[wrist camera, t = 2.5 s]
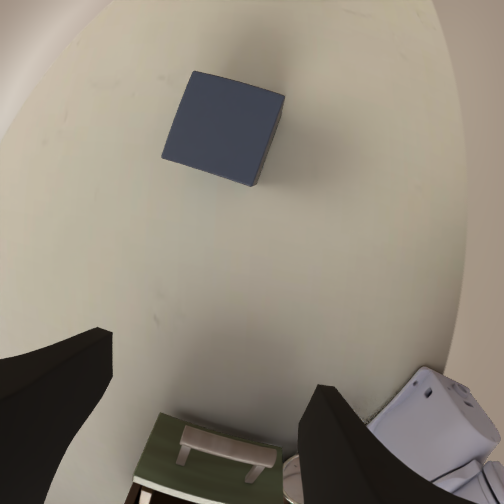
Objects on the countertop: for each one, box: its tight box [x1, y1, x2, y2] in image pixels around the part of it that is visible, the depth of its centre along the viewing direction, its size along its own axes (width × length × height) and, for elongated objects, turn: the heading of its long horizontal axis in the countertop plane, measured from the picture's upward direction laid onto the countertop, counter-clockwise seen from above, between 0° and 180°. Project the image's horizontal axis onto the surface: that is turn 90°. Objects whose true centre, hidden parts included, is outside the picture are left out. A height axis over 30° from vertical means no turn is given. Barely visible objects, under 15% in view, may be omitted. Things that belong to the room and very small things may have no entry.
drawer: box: [133, 412, 283, 504], centre depth 19 cm, size 17×10×7 cm, turn 161°
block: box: [161, 71, 285, 187], centre depth 14 cm, size 4×4×4 cm
